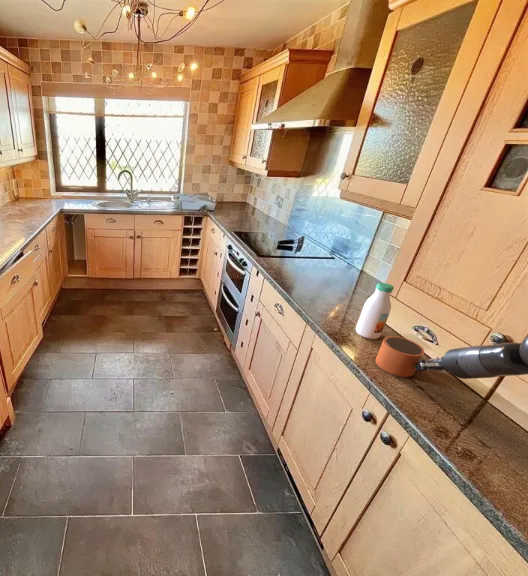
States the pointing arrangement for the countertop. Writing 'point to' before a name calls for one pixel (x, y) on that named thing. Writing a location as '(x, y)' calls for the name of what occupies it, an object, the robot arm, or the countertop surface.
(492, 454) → the countertop surface
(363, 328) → the milk bottle
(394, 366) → the terracotta pot
